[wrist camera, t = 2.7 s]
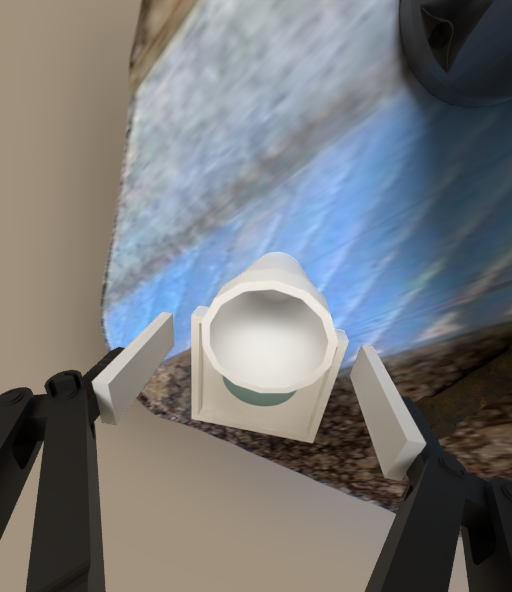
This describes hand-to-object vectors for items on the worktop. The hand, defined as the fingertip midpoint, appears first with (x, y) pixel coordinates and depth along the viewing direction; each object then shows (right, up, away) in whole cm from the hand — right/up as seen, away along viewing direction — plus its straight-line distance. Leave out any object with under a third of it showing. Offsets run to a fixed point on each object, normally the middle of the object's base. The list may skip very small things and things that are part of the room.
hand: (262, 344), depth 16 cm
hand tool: (+27, -8, +15) cm, 32 cm away
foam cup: (+2, +6, +12) cm, 13 cm away
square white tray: (0, -8, +18) cm, 20 cm away
